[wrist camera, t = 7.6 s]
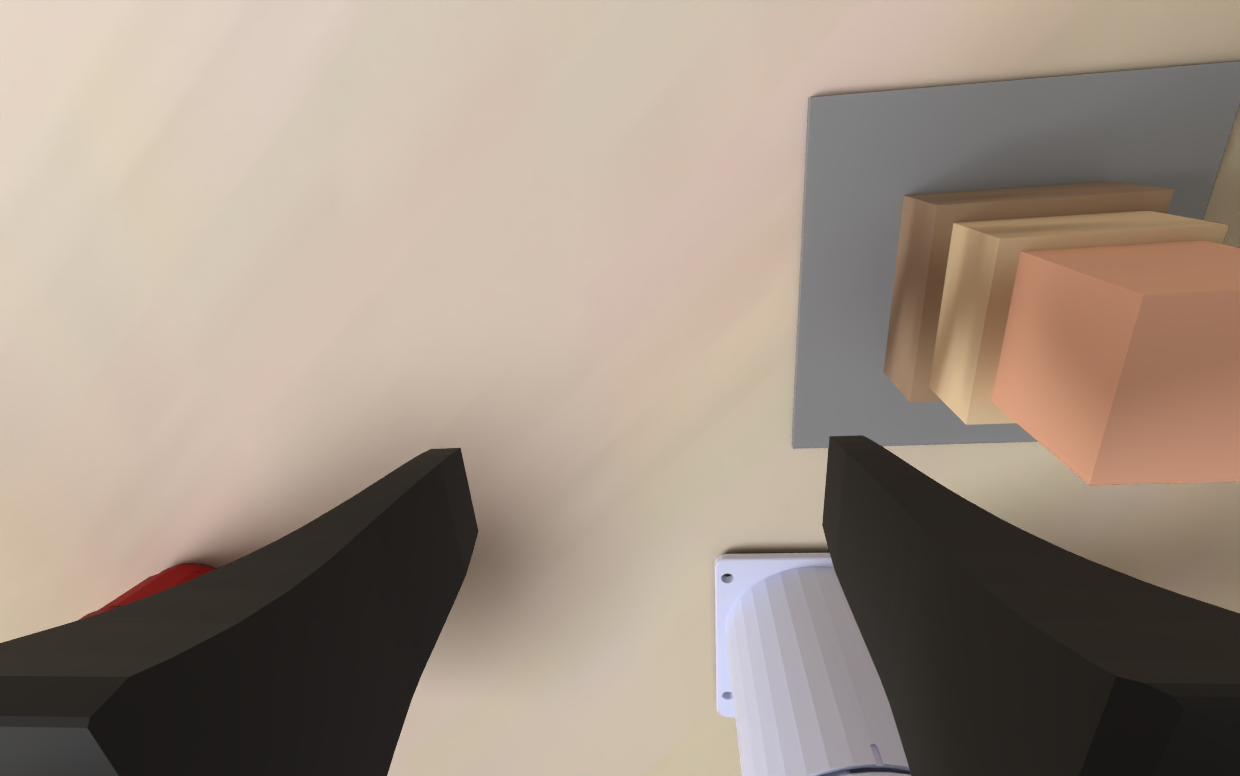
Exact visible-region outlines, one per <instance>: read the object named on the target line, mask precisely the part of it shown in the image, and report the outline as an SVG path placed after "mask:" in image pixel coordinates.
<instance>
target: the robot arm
mask: <svg viewBox="0 0 1240 776" xmlns="http://www.w3.org/2000/svg"><path fill="white" fill-rule="evenodd" d="M823 529H824V533H825V537H826V541H827V545H828V549H829V552H830V553H761V554H723V555H721V556H719V557H718V558H717V559H716V560H715V623H716V701H717V711H718V713H719V714H720V715H722V716H724V717H735V719H736V728H737V737H738V745H739V754H740V762H741V771H742V776H1240V614H1239V613H1236V612H1233V611H1230V610H1227V609H1224V608H1221V607H1218V606H1215V605H1211V604H1208V603H1205V602H1202V601H1199V600H1196V599H1193V598H1190V597H1187V596H1184V595H1181V594H1178V593H1175V592H1172V591H1169V590H1166V589H1164V588H1161V587H1158V586H1155V585H1152V584H1149V583H1147V582H1144V581H1141V580H1138V579H1136V578H1133V577H1131V576H1128V575H1126V574H1123V573H1120V572H1118V571H1115V570H1113V569H1110V568H1108V567H1105V566H1103V565H1100V564H1098V563H1095V562H1092V561H1090V560H1087V559H1085V558H1083V557H1080V556H1078V555H1076V554H1073V553H1071V552H1069V551H1066V550H1064V549H1062V548H1060V547H1058V546H1055V545H1053V544H1051V543H1049V542H1047V541H1045V540H1043V539H1041V538H1038V537H1036V536H1034V535H1032V534H1030V533H1028V532H1026V531H1024V530H1021V529H1019V528H1017V527H1015V526H1013V525H1012V524H1010V523H1008V522H1006V521H1004V520H1002V519H1000V518H998V517H996V516H994V515H993V514H991V513H989V512H987V511H985V510H984V509H982V508H980V507H978V506H977V505H975V504H973V503H971V502H969V501H968V500H966V499H964V498H962V497H961V496H959V495H957V494H956V493H954V492H952V491H951V490H949V489H947V488H946V487H944V486H942V485H941V484H939V483H938V482H936V481H934V480H933V479H931V478H930V477H928V476H927V475H925V474H923V473H922V472H920V471H919V470H917V469H916V468H914V467H913V466H911V465H910V464H908V463H906V462H905V461H903V460H902V459H900V458H899V457H897V456H896V455H894V454H893V453H891V452H890V451H888V450H887V449H885V448H884V447H882V446H880V445H879V444H877V443H876V442H874V441H872V440H871V439H869V438H867V437H865V436H863V435H858V436H829V449H828V462H827V474H826V487H825V500H824V512H823ZM477 534H478V528H477V523H476V519H475V514H474V509H473V505H472V500H471V495H470V491H469V486H468V481H467V476H466V472H465V467H464V462H463V458H462V453H461V448H447V449H430V450H428V451H426V452H424V453H422V454H420V455H419V456H417V457H415V458H413V459H412V460H410V461H409V462H407V463H405V464H404V465H402V466H400V467H399V468H397V469H396V470H394V471H393V472H391V473H390V474H388V475H386V476H385V477H383V478H382V479H380V480H379V481H377V482H375V483H374V484H372V485H371V486H369V487H368V488H366V489H365V490H363V491H361V492H360V493H358V494H357V495H355V496H354V497H352V498H350V499H349V500H347V501H345V502H344V503H342V504H340V505H339V506H337V507H335V508H334V509H332V510H330V511H328V512H327V513H325V514H323V515H322V516H320V517H318V518H317V519H315V520H313V521H312V522H310V523H308V524H307V525H305V526H303V527H301V528H299V529H298V530H296V531H294V532H292V533H290V534H288V535H287V536H285V537H283V538H281V539H279V540H277V541H275V542H273V543H271V544H269V545H267V546H265V547H263V548H261V549H259V550H257V551H255V552H253V553H251V554H249V555H247V556H245V557H242V558H240V559H238V560H236V561H234V562H231V563H229V564H227V565H224V566H222V567H220V568H217V569H215V570H213V571H210V572H208V573H205V574H203V575H201V576H198V577H196V578H194V579H191V580H189V581H186V582H184V583H182V584H179V585H177V586H175V587H172V588H169V589H167V590H164V591H162V592H159V593H156V594H153V595H151V596H148V597H145V598H143V599H140V600H137V601H135V602H132V603H129V604H126V605H123V606H120V607H117V608H114V609H111V610H108V611H105V612H102V613H100V614H97V615H94V616H91V617H87V618H84V619H81V620H78V621H75V622H72V623H68V624H65V625H62V626H58V627H55V628H51V629H48V630H44V631H41V632H38V633H34V634H31V635H27V636H24V637H20V638H17V639H13V640H10V641H7V642H3V643H0V776H387V774H388V771H389V768H390V764H391V761H392V758H393V754H394V751H395V748H396V745H397V742H398V739H399V736H400V733H401V730H402V727H403V724H404V721H405V718H406V715H407V712H408V709H409V706H410V703H411V700H412V697H413V695H414V692H415V690H416V687H417V685H418V682H419V680H420V677H421V675H422V673H423V670H424V668H425V666H426V664H427V661H428V659H429V657H430V655H431V653H432V650H433V648H434V646H435V644H436V641H437V639H438V637H439V635H440V633H441V630H442V628H443V626H444V624H445V622H446V619H447V617H448V615H449V613H450V610H451V608H452V606H453V604H454V601H455V599H456V597H457V594H458V592H459V590H460V588H461V585H462V583H463V581H464V578H465V576H466V573H467V570H468V566H469V563H470V560H471V556H472V553H473V549H474V545H475V541H476V538H477ZM727 573H728V574H731V576H728V577H725V576H723V575H724V574H727Z"/></svg>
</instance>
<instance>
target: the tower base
mask: <svg viewBox="0 0 1240 776" xmlns="http://www.w3.org/2000/svg"><path fill="white" fill-rule="evenodd" d="M1173 192H1174V190H1172V189H1165V188H1157V187H1149V186H1141V185H1133V184H1126V183H1118V182H1110V181H1108V182H1094V183H1079V184H1064V185H1049V186H1035V187H1020V188H1005V189H990V190H976V191H961V192H946V193H931V194H917V195H904V197H903V206H902V215H901V223H900V232H899V241H898V250H897V259H896V267H895V276H894V285H893V294H892V303H891V311H890V320H889V329H888V338H887V347H886V355H885V364H884V373H885V374H886V376H887V377H888V378H889V379H890V380H891V381H892V382H893V384H894V385H895V386H896V387H897V388H898V389H899V390H900V392H901V393H902V394H903V395H904V396H905V397H906V398H907V400H908V401H909V402H910V403H914V402H942V400H941V399H940V398H939V397H938V396H937V395H936V394H935V393H934V392H933V391H932V390H931V389H930V388H929V383H930V377H931V370H932V363H933V356H934V350H935V343H936V336H937V329H938V323H939V316H940V309H941V303H942V296H943V289H944V282H945V276H946V269H947V262H948V256H949V249H950V242H951V235H952V229H953V223H958V222H974V221H990V220H1006V219H1022V218H1038V217H1054V216H1069V215H1085V214H1101V213H1117V212H1133V211H1154V212H1159V213H1165V214H1167V213H1168V209H1169V206H1170V202H1171V199H1172V195H1173Z"/></svg>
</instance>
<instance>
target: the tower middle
mask: <svg viewBox="0 0 1240 776" xmlns="http://www.w3.org/2000/svg"><path fill="white" fill-rule="evenodd" d="M1228 227H1229V225H1227V224H1221V223H1215V222H1210V221H1204V220H1199V219H1193V218H1187V217H1182V216H1176V215H1171V214H1165V213H1159V212H1154V211H1133V212H1117V213H1101V214H1085V215H1069V216H1054V217H1038V218H1022V219H1006V220H990V221H974V222H958V223H953V229H952V235H951V242H950V249H949V256H948V262H947V269H946V276H945V282H944V289H943V296H942V303H941V309H940V316H939V323H938V329H937V336H936V343H935V350H934V356H933V363H932V370H931V377H930V383H929V388H930V389H931V390H932V391H933V392H934V393H935V394H936V395H937V396H938V397H939V398H940V399H941V400H942V401H943V402H944V403H945V404H946V405H947V406H948V407H949V408H950V409H951V410H952V411H953V412H954V413H955V414H956V415H957V416H958V417H959V418H960V419H961V420H962V421H963V422H964V423H965V424H966V425H975V424H1007V423H1016V422H1015V421H1014V420H1012V419H1011V418H1010V417H1009V416H1008V415H1006V414H1005V413H1004V412H1003V411H1002V410H1001V409H999V408H998V407H997V406H996V405H995V404H994V403H992V397H993V392H994V386H995V381H996V376H997V371H998V366H999V361H1000V355H1001V350H1002V345H1003V340H1004V335H1005V329H1006V324H1007V319H1008V314H1009V309H1010V304H1011V298H1012V293H1013V288H1014V283H1015V278H1016V273H1017V267H1018V262H1019V257H1020V252H1021V251H1031V250H1047V249H1064V248H1080V247H1096V246H1112V245H1129V244H1145V243H1161V242H1177V241H1194V240H1205V241H1210V242H1214V243H1219V244H1223V242H1224V239H1225V236H1226V233H1227V230H1228Z"/></svg>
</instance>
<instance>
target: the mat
mask: <svg viewBox="0 0 1240 776" xmlns="http://www.w3.org/2000/svg"><path fill="white" fill-rule="evenodd" d="M1239 104H1240V61H1234V62H1222V63H1211V64H1199V65H1187V66H1175V67H1163V68H1151V69H1140V70H1128V71H1116V72H1104V73H1092V74H1080V75H1068V76H1057V77H1045V78H1033V79H1021V80H1009V81H997V82H985V83H974V84H962V85H950V86H938V87H926V88H914V89H902V90H891V91H879V92H867V93H855V94H843V95H831V96H820V97H809V98H808V118H807V139H806V160H805V180H804V201H803V222H802V242H801V263H800V284H799V304H798V325H797V346H796V366H795V387H794V408H793V428H792V447H793V449H797V448H829V436H858V435H863V436H865V437H867V438H869V439H871V440H872V441H874V442H876V443H877V444H879V445H880V446H902V445H936V444H971V443H1006V442H1038V441H1037V440H1036V439H1035V438H1033V437H1032V436H1031V435H1030V434H1029V433H1028V432H1026V431H1025V430H1024V429H1023V428H1022V427H1021V426H1019V425H1018V424H1017V423H1007V424H975V425H966V424H965V423H964V422H963V421H962V420H961V419H960V418H959V417H958V416H957V415H956V414H955V413H954V412H953V411H952V410H951V409H950V408H949V407H948V406H947V405H946V404H945V403H944V402H943V401H942V402H914V403H910V402H909V401H908V400H907V398H906V397H905V396H904V395H903V394H902V393H901V392H900V390H899V389H898V388H897V387H896V386H895V385H894V384H893V382H892V381H891V380H890V379H889V378H888V377H887V376H886V374H885V373H884V364H885V355H886V347H887V338H888V329H889V320H890V311H891V303H892V294H893V285H894V276H895V267H896V259H897V250H898V241H899V232H900V223H901V215H902V206H903V197H904V195H917V194H931V193H946V192H961V191H976V190H990V189H1005V188H1020V187H1035V186H1049V185H1064V184H1079V183H1094V182H1108V181H1110V182H1118V183H1126V184H1133V185H1141V186H1149V187H1157V188H1165V189H1172V190H1174V192H1173V195H1172V199H1171V202H1170V206H1169V209H1168V213H1167V214H1171V215H1176V216H1182V217H1187V218H1193V219H1199V220H1203V219H1204V215H1205V212H1206V209H1207V206H1208V203H1209V200H1210V196H1211V193H1212V190H1213V187H1214V184H1215V180H1216V177H1217V174H1218V171H1219V168H1220V165H1221V161H1222V158H1223V155H1224V152H1225V149H1226V145H1227V142H1228V139H1229V136H1230V133H1231V129H1232V126H1233V123H1234V120H1235V117H1236V114H1237V110H1238V107H1239Z"/></svg>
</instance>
